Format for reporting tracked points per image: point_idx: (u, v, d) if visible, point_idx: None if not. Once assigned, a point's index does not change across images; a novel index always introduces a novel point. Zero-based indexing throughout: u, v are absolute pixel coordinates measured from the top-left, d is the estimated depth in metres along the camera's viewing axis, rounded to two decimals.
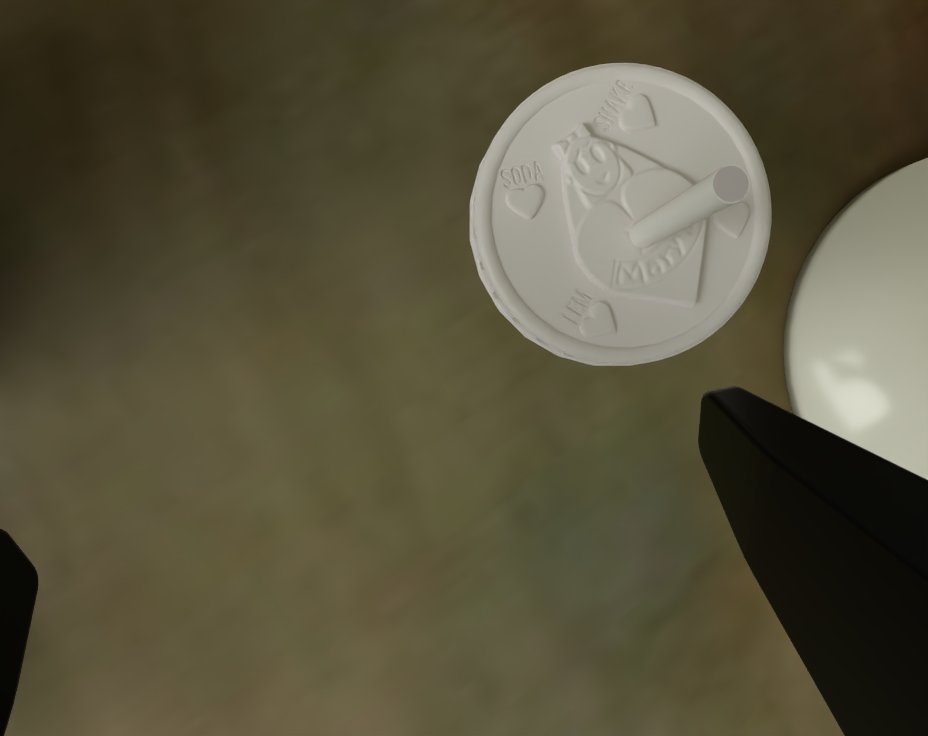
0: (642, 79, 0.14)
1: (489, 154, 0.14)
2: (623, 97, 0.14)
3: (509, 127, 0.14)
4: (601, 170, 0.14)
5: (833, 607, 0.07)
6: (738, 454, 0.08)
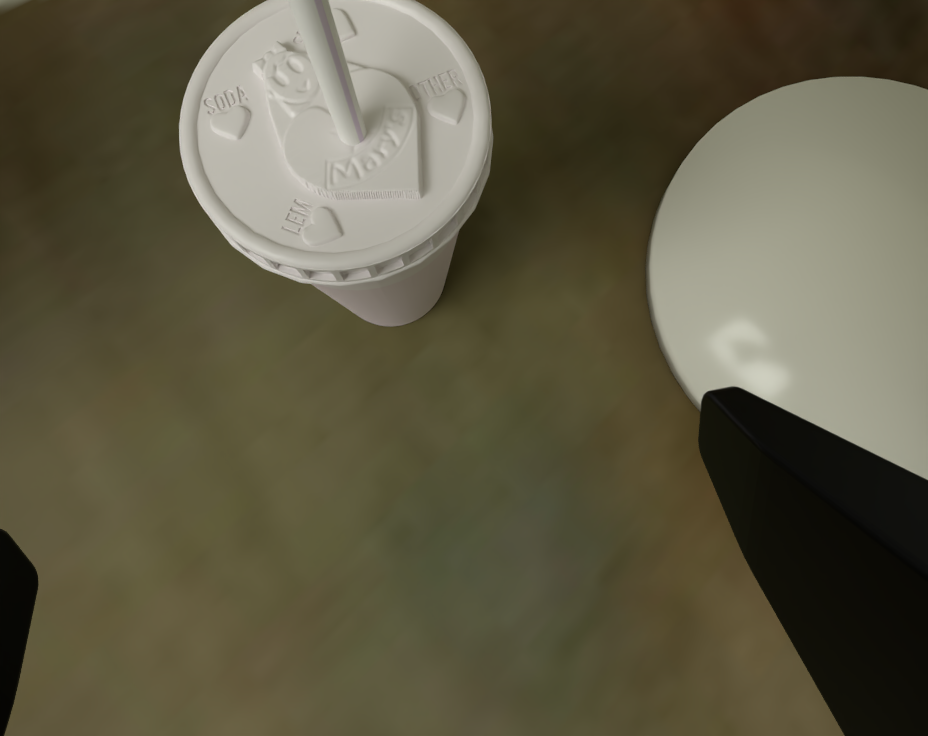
0: None
1: (192, 88, 0.14)
2: None
3: (205, 57, 0.14)
4: (301, 80, 0.13)
5: (833, 607, 0.07)
6: (738, 454, 0.08)
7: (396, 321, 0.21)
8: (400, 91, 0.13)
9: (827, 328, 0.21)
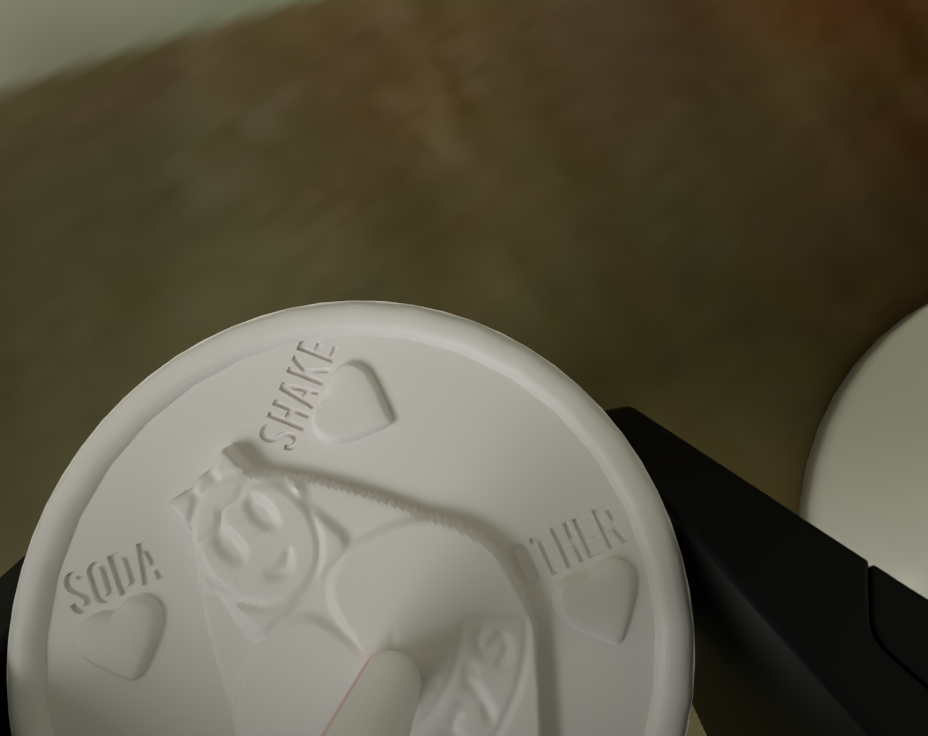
0: (352, 330, 0.07)
1: (44, 540, 0.06)
2: (318, 373, 0.07)
3: (68, 482, 0.06)
4: (274, 549, 0.06)
5: (699, 634, 0.06)
6: None
7: None
8: (496, 583, 0.06)
9: None
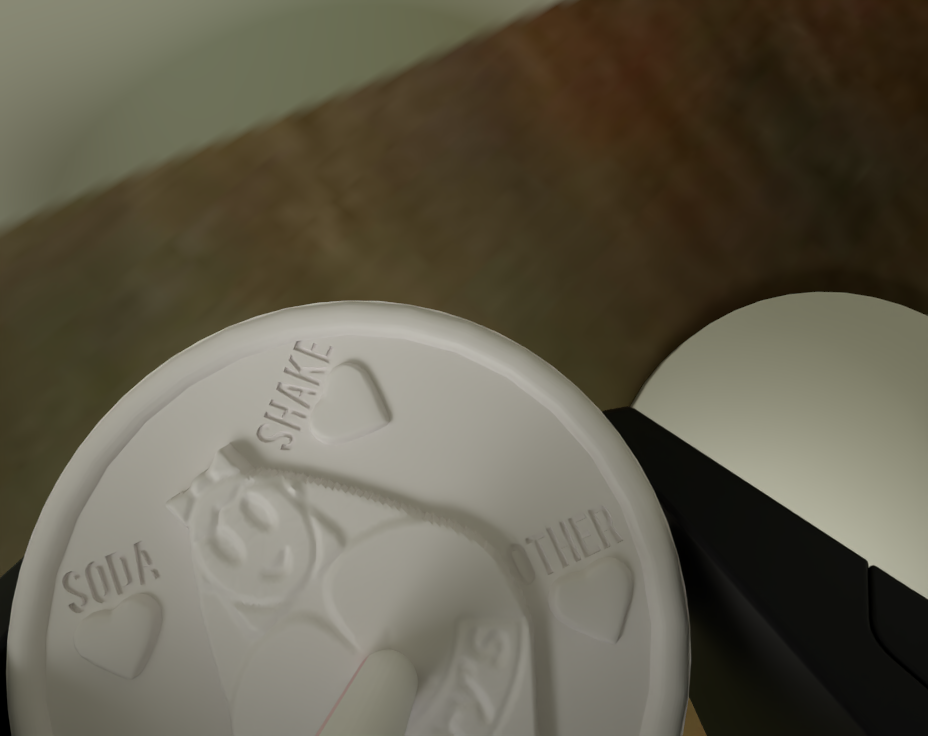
0: (349, 330, 0.07)
1: (42, 540, 0.06)
2: (314, 374, 0.07)
3: (66, 482, 0.06)
4: (272, 549, 0.06)
5: (699, 634, 0.06)
6: None
7: None
8: (492, 583, 0.06)
9: None
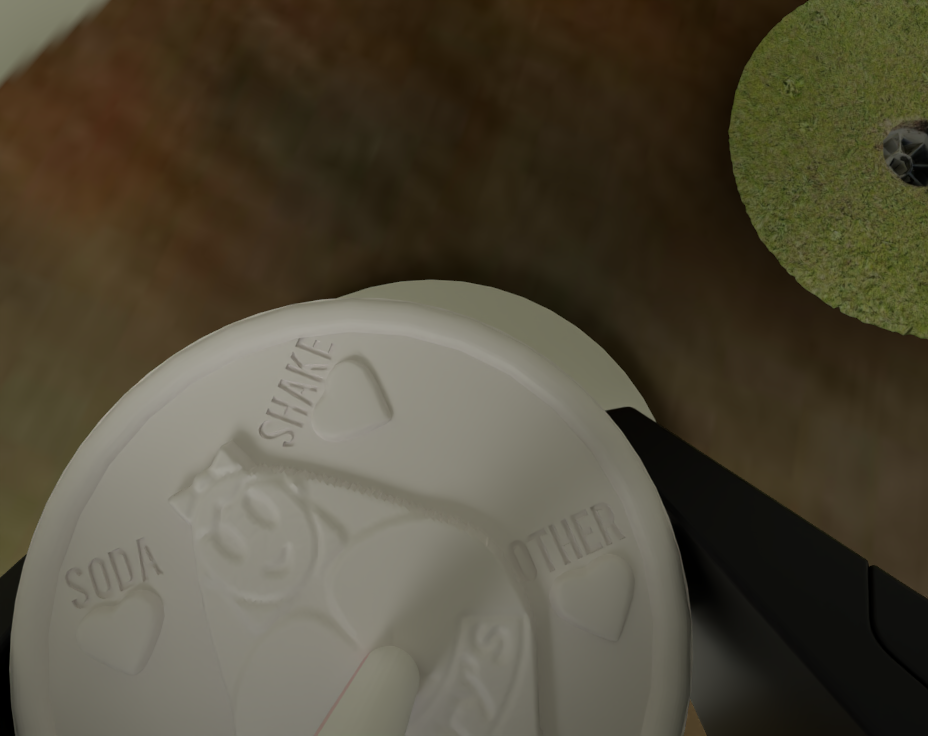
0: (351, 326, 0.07)
1: (44, 537, 0.06)
2: (316, 371, 0.07)
3: (69, 478, 0.06)
4: (274, 546, 0.06)
5: (699, 634, 0.06)
6: None
7: None
8: (494, 579, 0.06)
9: None
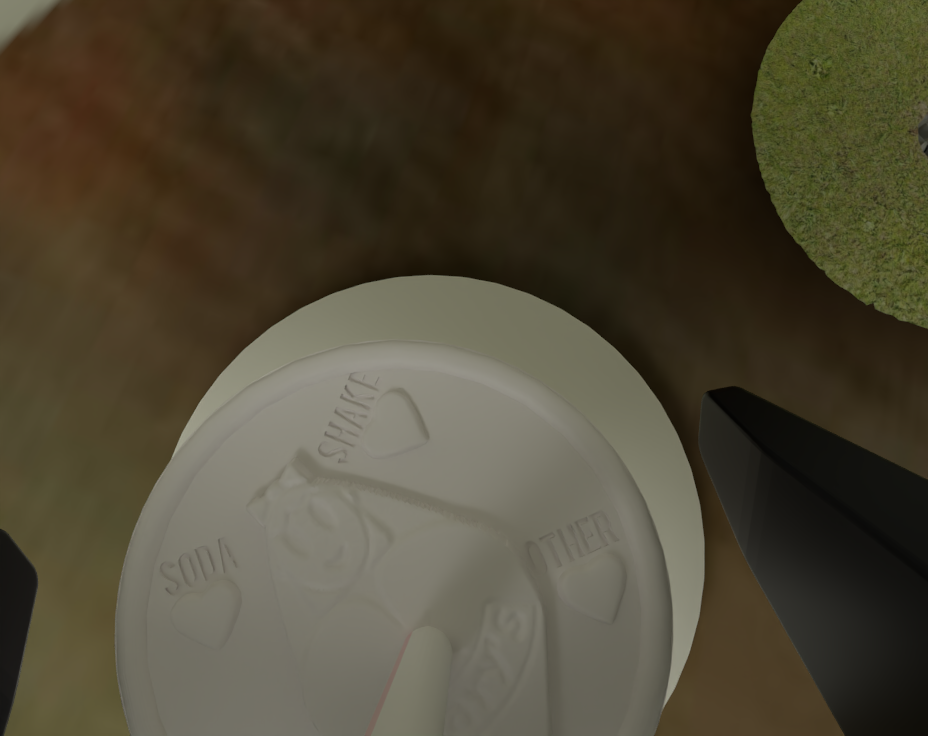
0: (394, 363, 0.08)
1: (141, 535, 0.08)
2: (365, 400, 0.08)
3: (163, 487, 0.08)
4: (333, 545, 0.07)
5: (834, 607, 0.07)
6: (739, 454, 0.08)
7: None
8: (513, 573, 0.07)
9: None
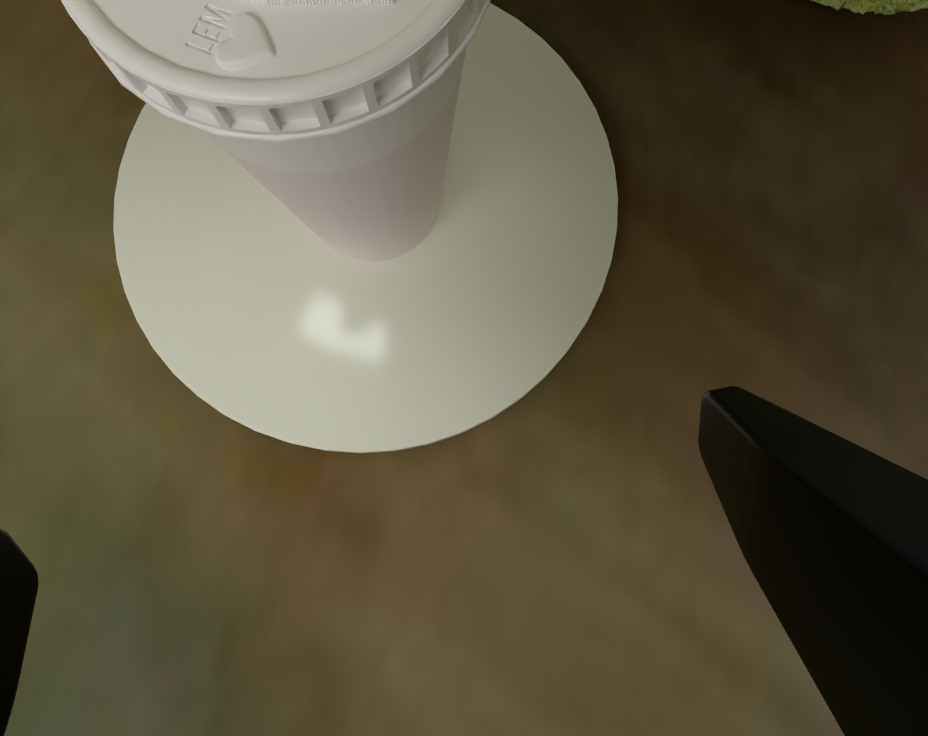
0: None
1: None
2: None
3: None
4: None
5: (833, 607, 0.07)
6: (738, 454, 0.08)
7: (377, 252, 0.17)
8: None
9: (340, 279, 0.18)
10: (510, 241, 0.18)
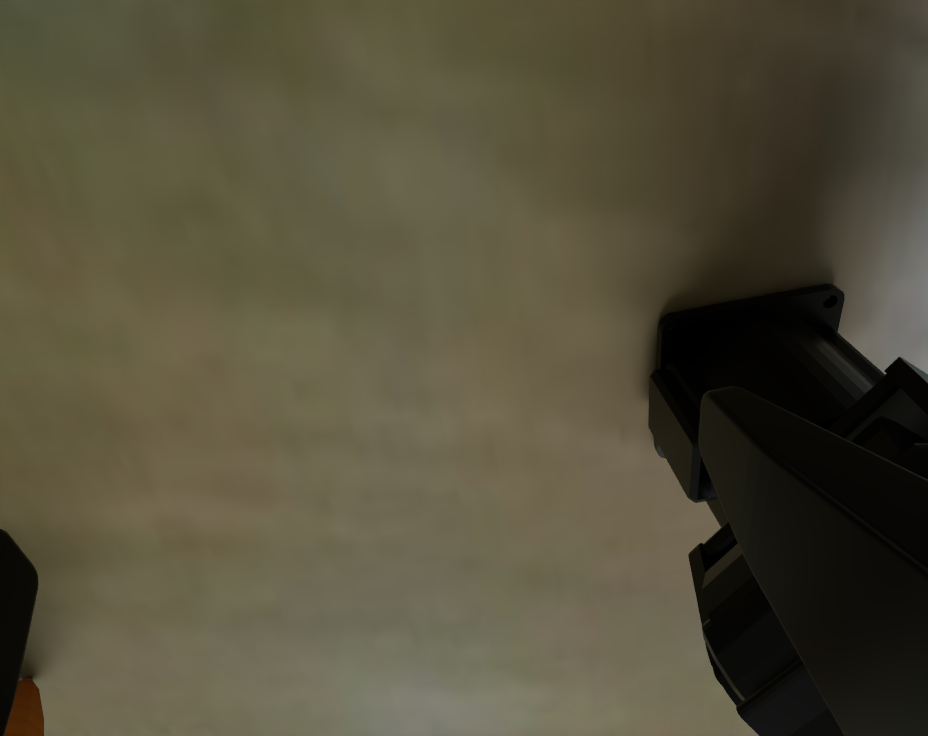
0: None
1: None
2: None
3: None
4: None
5: (833, 607, 0.07)
6: (738, 454, 0.08)
7: None
8: None
9: None
10: None
